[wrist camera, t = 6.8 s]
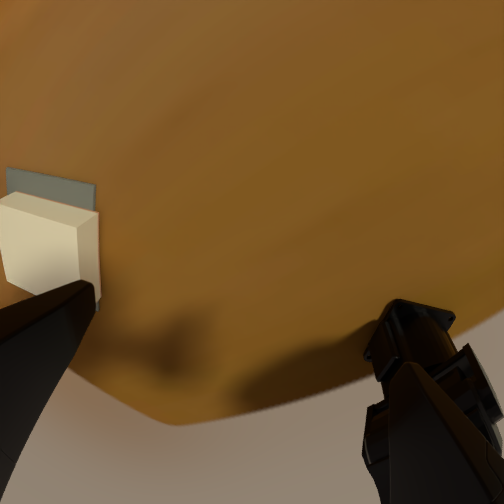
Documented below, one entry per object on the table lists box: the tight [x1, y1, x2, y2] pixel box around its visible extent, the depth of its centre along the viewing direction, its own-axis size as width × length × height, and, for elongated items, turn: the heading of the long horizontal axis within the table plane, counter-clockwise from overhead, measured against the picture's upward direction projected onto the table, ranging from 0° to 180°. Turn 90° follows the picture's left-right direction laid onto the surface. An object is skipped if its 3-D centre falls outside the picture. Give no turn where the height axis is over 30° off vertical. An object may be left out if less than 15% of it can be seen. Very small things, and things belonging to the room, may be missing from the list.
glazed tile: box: [0, 191, 102, 303], centre depth 21 cm, size 3×8×10 cm
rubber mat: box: [6, 167, 99, 311], centre depth 23 cm, size 11×12×1 cm
